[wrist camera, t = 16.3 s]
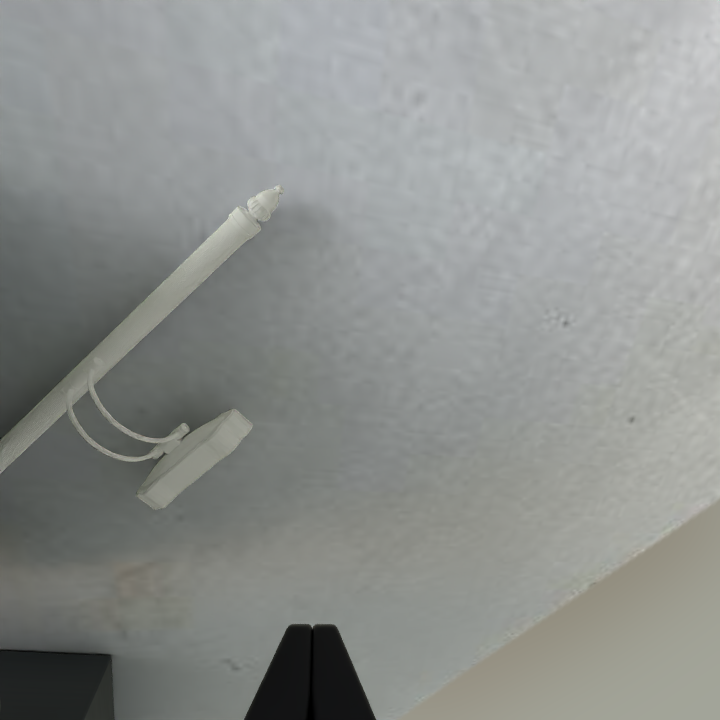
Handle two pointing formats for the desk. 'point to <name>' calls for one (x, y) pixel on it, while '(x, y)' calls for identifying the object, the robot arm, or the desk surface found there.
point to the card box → (55, 686)
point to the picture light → (182, 454)
